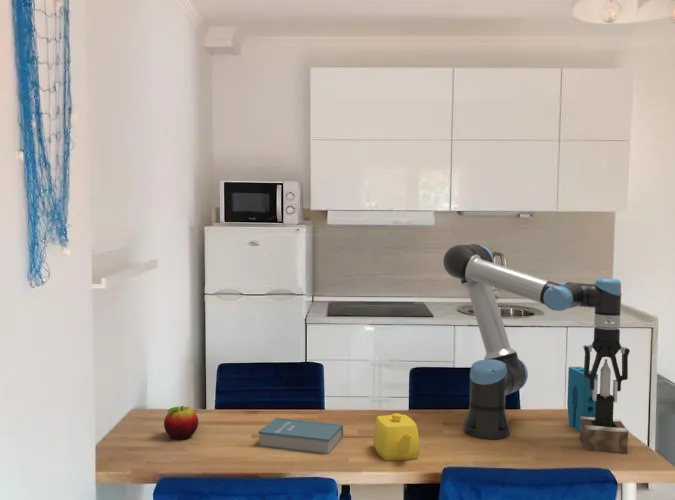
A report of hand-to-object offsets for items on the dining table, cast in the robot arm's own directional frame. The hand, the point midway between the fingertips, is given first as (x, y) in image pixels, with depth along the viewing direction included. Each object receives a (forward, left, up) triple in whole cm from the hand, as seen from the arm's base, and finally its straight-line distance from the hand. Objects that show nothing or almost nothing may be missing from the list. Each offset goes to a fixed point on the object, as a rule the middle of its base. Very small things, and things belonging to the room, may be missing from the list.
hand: (604, 400), depth 206 cm
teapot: (-63, -24, -15) cm, 69 cm away
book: (-94, -21, -15) cm, 97 cm away
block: (-4, +17, -15) cm, 23 cm away
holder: (0, 0, -14) cm, 14 cm away
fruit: (-132, -26, -15) cm, 135 cm away
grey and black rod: (0, 0, -12) cm, 12 cm away
